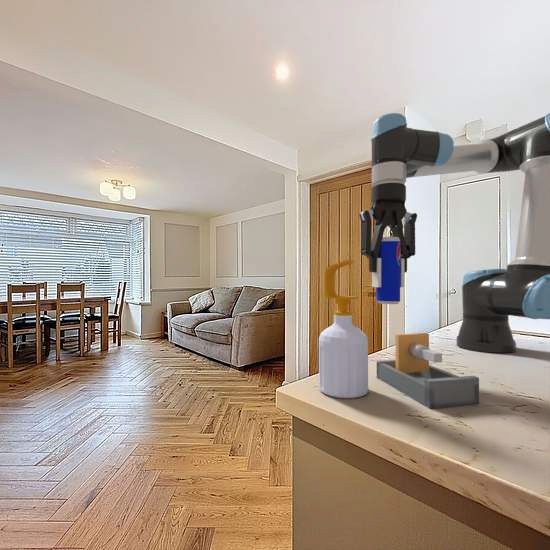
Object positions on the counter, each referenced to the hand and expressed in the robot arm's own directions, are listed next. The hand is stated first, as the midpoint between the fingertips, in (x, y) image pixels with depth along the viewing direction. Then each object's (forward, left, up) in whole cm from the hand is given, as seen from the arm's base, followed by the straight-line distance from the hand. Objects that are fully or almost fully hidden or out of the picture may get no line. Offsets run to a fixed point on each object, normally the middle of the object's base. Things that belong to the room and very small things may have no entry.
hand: (388, 286), depth 76 cm
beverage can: (0, 0, -4) cm, 4 cm away
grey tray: (+1, +13, -19) cm, 23 cm away
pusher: (+1, +13, -17) cm, 21 cm away
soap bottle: (+16, +10, -19) cm, 27 cm away
